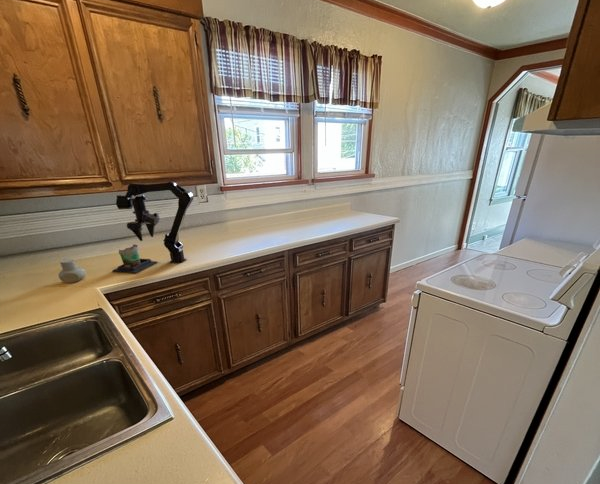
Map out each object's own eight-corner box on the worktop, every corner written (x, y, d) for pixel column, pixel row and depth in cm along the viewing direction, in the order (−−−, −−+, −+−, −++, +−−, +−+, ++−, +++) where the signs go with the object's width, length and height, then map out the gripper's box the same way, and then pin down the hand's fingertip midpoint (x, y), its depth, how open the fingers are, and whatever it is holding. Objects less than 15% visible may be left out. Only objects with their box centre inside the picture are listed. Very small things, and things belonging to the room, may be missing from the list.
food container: (133, 269, 169) (128, 250, 164) (123, 269, 170) (117, 250, 165) (148, 262, 179) (143, 244, 175) (138, 261, 181) (133, 244, 176)
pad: (157, 262, 181) (156, 258, 180) (136, 273, 166) (134, 269, 165) (135, 261, 184) (134, 257, 183) (112, 271, 169) (111, 267, 168)
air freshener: (89, 276, 163) (82, 257, 158) (85, 282, 156) (78, 262, 151) (64, 279, 160) (56, 259, 155) (58, 285, 153) (51, 264, 148)
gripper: (141, 212, 160) (149, 244, 167) (164, 206, 176) (169, 235, 183) (122, 211, 162) (130, 242, 169) (146, 206, 178) (152, 234, 186)
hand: (146, 238), depth 177 cm, fingers open, 9 cm apart
